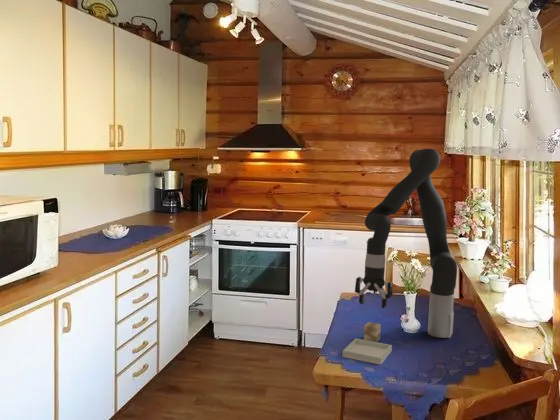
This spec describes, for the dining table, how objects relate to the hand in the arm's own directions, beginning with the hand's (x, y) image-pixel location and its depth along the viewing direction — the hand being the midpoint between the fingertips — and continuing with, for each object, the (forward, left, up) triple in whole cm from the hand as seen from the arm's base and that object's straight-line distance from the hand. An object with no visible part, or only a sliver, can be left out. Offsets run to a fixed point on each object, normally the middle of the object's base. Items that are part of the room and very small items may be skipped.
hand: (372, 305), depth 214 cm
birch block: (0, 0, -14) cm, 14 cm away
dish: (-3, +15, -13) cm, 21 cm away
